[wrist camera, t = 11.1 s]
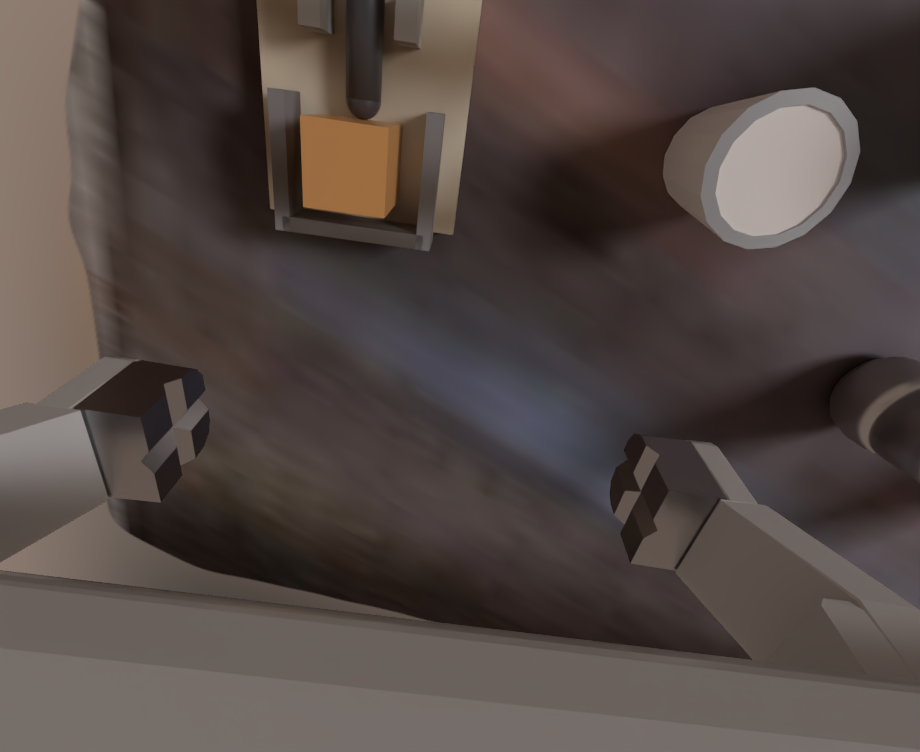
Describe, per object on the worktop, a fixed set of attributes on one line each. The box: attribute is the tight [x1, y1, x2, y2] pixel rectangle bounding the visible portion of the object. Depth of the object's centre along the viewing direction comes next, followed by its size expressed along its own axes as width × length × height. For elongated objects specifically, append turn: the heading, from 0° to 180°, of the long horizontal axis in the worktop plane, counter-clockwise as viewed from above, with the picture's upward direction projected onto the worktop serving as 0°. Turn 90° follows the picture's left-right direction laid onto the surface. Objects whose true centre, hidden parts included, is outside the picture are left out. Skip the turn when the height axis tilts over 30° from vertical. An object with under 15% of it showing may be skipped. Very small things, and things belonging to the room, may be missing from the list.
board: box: [257, 0, 482, 251], centre depth 23 cm, size 20×11×4 cm, turn 172°
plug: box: [300, 0, 403, 218], centre depth 22 cm, size 15×4×5 cm, turn 173°
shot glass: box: [663, 87, 860, 249], centre depth 24 cm, size 7×7×7 cm
